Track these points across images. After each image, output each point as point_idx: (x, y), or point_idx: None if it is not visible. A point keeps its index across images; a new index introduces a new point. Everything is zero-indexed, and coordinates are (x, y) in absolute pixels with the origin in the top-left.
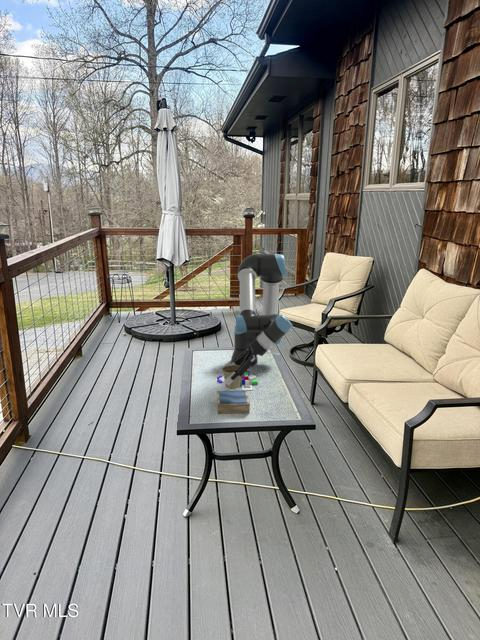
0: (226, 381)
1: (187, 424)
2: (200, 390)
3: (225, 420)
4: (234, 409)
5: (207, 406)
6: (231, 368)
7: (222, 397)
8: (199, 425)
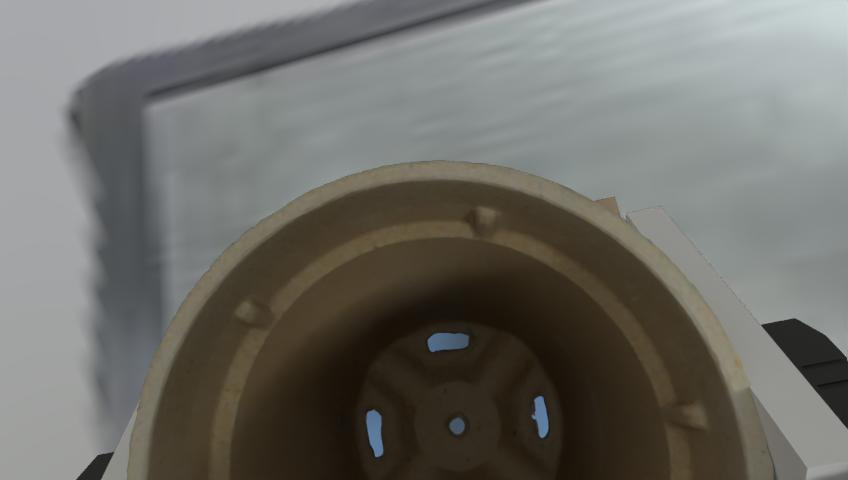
0: None
1: (137, 90)
2: (772, 21)
3: None
4: None
5: None
6: (681, 391)
7: None
8: (124, 180)
